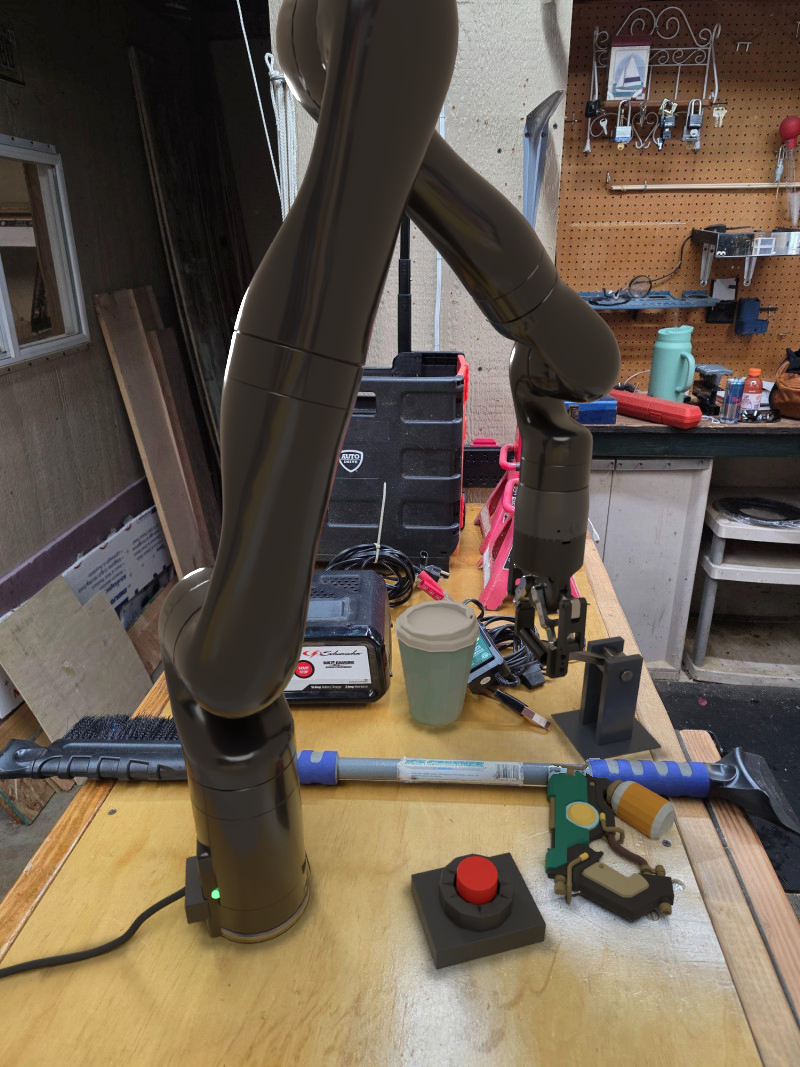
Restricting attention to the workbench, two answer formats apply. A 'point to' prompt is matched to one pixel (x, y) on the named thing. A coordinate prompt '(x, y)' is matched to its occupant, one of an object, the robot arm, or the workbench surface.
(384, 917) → the workbench surface
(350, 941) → the workbench surface
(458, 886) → the button
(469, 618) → the disposable coffee cup
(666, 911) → the spray gun
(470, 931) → the control box
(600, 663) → the lever
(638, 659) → the bracket
